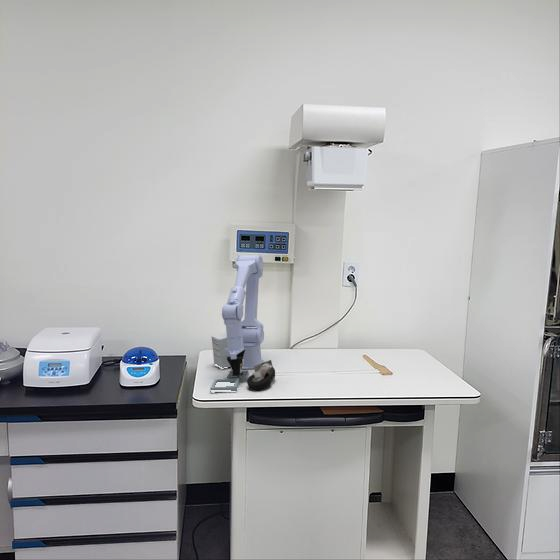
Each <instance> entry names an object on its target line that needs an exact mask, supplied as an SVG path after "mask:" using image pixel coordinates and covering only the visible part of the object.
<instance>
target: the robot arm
mask: <svg viewBox="0 0 560 560" xmlns="http://www.w3.org/2000/svg"><path fill="white" fill-rule="evenodd" d="M234 263H235V264H234V265H235V269H236V272H237V273H236V278H235V284H234V286H233V287H232V288H231V289H230V292H229V295H228V298H227V301H226V304H224V305H223V307H222V309H221V318H222V319H223V324H224V326H225V331H226V332H225V333H227V344H228V348H225V351H228V352H229V353H230V357H227V361H228V362H229V364H230V366H231V368H230V369H231V371H232V372H233V375H234V376H238V375H240V366H241V363H242V366H241V370H253V369H254V366H256V365H258V364H261V363H263V362H265V361H264V359H262V351H261V349H262V348H261V344H262V343H263V342H264V340H265V339H264V338H265V332H264V325H263V323H262V322H261V321H259V320H258V302H259V283H260V278H262V277H263V273H264V260H263V257H262V256H261V254H253V255H250V254H249V255H248V254H247V255H237V256H236V258H235V261H234ZM244 301H245V302H244ZM243 316H244V317H243ZM242 319H243V320H242ZM254 370H255V369H254Z"/></svg>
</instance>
